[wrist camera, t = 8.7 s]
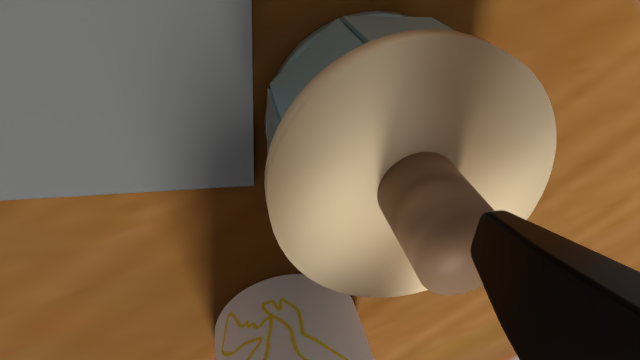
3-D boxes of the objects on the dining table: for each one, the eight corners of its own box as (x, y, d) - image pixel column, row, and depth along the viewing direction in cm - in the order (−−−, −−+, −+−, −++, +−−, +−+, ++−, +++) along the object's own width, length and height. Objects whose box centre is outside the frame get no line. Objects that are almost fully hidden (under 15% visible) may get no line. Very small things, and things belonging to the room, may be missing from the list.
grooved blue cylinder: (264, 207, 22) (278, 281, 18) (264, 8, 17) (283, 47, 13) (440, 195, 24) (490, 260, 20) (483, 12, 19) (560, 47, 15)
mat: (-50, 198, 19) (-54, 203, 18) (-207, -178, 12) (-219, -180, 12) (253, 180, 21) (254, 185, 21) (248, -140, 15) (249, -140, 15)
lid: (265, 292, 18) (282, 398, 14) (262, 28, 13) (286, 87, 9) (499, 265, 20) (566, 352, 16) (577, 28, 15) (702, 76, 11)
